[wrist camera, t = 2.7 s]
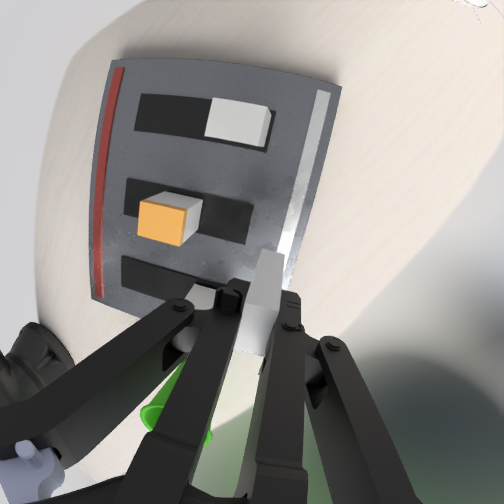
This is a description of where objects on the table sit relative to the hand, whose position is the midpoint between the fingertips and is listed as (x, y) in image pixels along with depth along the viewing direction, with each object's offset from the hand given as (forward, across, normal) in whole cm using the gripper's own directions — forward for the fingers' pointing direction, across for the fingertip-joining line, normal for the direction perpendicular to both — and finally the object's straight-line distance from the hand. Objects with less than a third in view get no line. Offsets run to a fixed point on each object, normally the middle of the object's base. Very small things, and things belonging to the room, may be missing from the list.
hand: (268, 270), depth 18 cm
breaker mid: (+9, -9, 0) cm, 13 cm away
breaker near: (+9, -5, +9) cm, 13 cm away
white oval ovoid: (+12, +15, +35) cm, 40 cm away
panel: (+11, -9, 0) cm, 15 cm away
